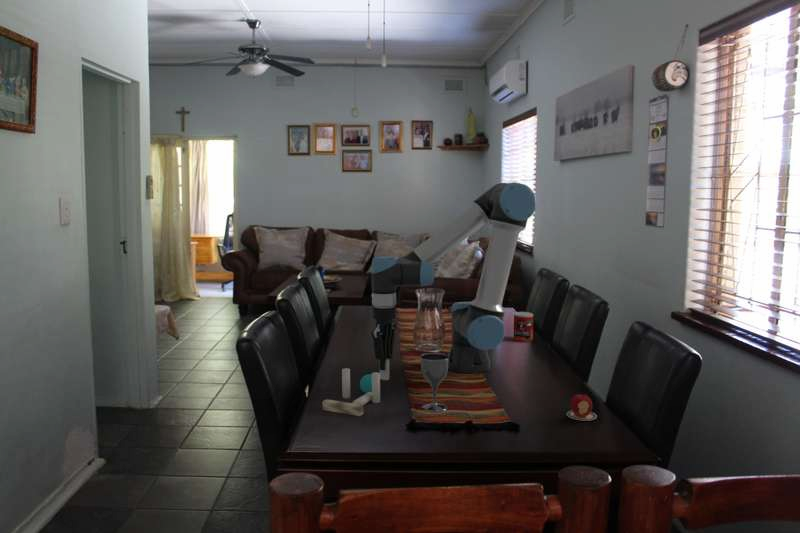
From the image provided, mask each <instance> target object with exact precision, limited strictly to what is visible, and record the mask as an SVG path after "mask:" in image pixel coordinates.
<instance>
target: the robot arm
mask: <svg viewBox="0 0 800 533" xmlns="http://www.w3.org/2000/svg"><path fill="white" fill-rule="evenodd" d="M537 204H538V203H537V196H536V194H535V193H534V191H533V189H532V188H531V187H530V186H528V185H526V184H525V183H521V182H515V181H513V182H499V183H497V184H495V185H493V186H491V187H489V189H487V190H486V191H484V192H483V193H482V194H481V195H479V197H477V198H476V199H474V200H473V201H472V202H471V204H470V206H469V207H468V208H467V209H466V210H464V211H463V212H462V213H461V214H460V215H458V216H457V217H455V218H454V219H453V220H451V221H450V222H449V223H448V224H446V225H444V226H443V227H442V228H441V229H439V230H438V231H437V232H436V233H434V234H433V235H431V236H430V237H429V238H427V239H426V240H425V241H423V242H422V243H420V244H419V245H418V246H417V247H415V248H414V249H413V250H411V251H410V252H408V253H407V254H406V255H404V256H400V257H398V258H396V257H394V256H390V255H387V256H386V255H385V256H384V255H383V256H382V255H381V256H375V257H373V259H371V260H372V261H371V298H372V299H371V304H372V307H371V317H372V319H373V320H375V330H371V337H372V340H373V348H374V355H375V360H378V361H379V373H380V380H382V381H388V380H390V359H393V354H394V353H393V352H394V344H395V334H396V329H397V324H396V323H395V324H394V323H393V320H394V319H396V318H397V307H396V305H397V287H399V288H401V287H425V286H426V287H428V286H431V285H433V283H434V280H435V269H434V265H433V264H434V263H435V262H437V261H438V260H439V259H441V258H442V257H443V256H445V255H446V254H447V253H448V252H450V251H451V250H453V249H454V248H455V247H457V246H458V245H460V243H462V242H463V241H465V240H466V239H468V238H469V237H470V236H471V235H473V234H474V233H475V232H476V231H478V230H479V229H481V228H482V227H484V226H490V225H492V230H491V234H490V238H489V242H488V247H487V250H486V255H485V258H484V262H483V267H482V271H481V275H480V278H479V282H478V288H477V291H476V295H475V299H473V300H471V301H458V302H454V303H453V304H452V305H451V311H450V314H451V347H450V348H449V353H448V354H447V355H448V356H449V366H448V371H449V370H450V371H451V372H457V373H462V374H463V373H464V374H475V373H476V374H477V373H484V372H487V371H489V370H490V369H491V359H490V357H489V354H488V350H489V351H490V350H492V349H494V348H496V347H498V346H499V345H500V344H501V343H502V342H503V340H504V338H505V335H506V328H505V324H504V316H505V313H506V311H505V309H504V307H503V300H504V297H505V294H506V293H505V292H506V288H507V284H508V281H509V277H510V272H511V268H512V263H513V259H514V256H515V252H516V251H515V250H516V248H517V243H518V239H519V235H520V233H521V232H522V231H524V230H526V228H527V227H526V226H527V224H528V220H529V219H530V217H532V216H533V215H534V213H535V212H536V210H537Z"/></svg>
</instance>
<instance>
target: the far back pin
mask: <svg viewBox="0 0 800 533" xmlns="http://www.w3.org/2000/svg"><path fill="white" fill-rule="evenodd" d="M341 388H342V389H341V393H342V394H341V395H342V398H343V399H350V398H351V369H350V368H347V367H346V368H342V369H341Z"/></svg>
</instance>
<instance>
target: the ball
mask: <svg viewBox="0 0 800 533" xmlns="http://www.w3.org/2000/svg"><path fill="white" fill-rule="evenodd" d="M359 388H360V390H361V391H362V392H363V393H364V394H366V393H368V392H372V373H369V374H368V373H367V374H365V375H363V376H362V377H361V378H360V381H359Z"/></svg>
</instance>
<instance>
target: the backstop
mask: <svg viewBox="0 0 800 533" xmlns="http://www.w3.org/2000/svg"><path fill="white" fill-rule="evenodd" d="M322 410H323V411H326V412H327V411H328V412H333V413H339V414H344V415H346V414H347V415H350V416H356V417H360V416H362V415H364V405H359V404H353V402H346V401H340V400H335V399H334V400H333V399H324V400H323V401H322Z"/></svg>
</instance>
